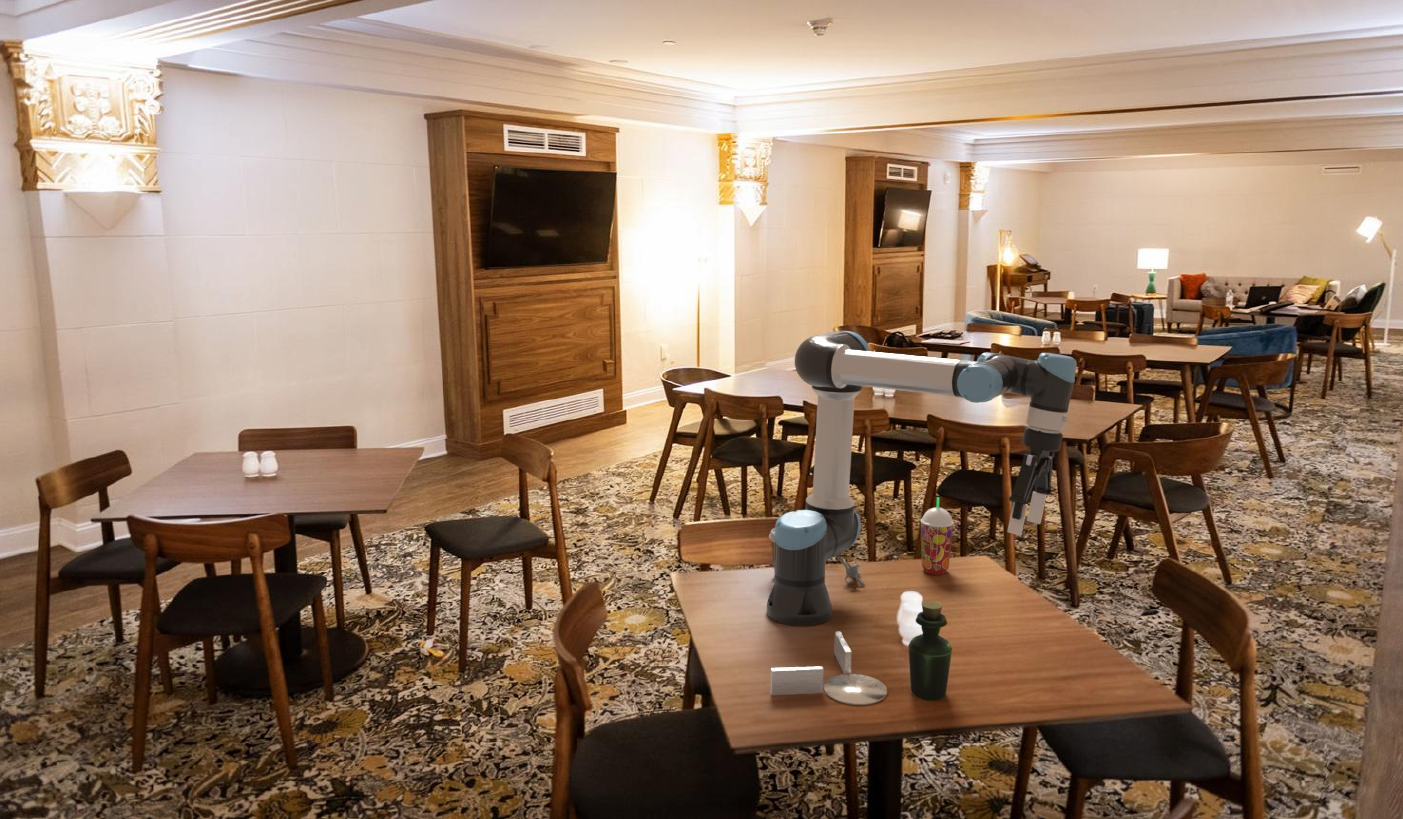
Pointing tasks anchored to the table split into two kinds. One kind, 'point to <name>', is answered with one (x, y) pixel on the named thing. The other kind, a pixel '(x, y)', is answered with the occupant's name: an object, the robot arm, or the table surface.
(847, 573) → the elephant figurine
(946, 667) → the potion bottle
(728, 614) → the table surface
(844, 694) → the shiny disc with plates
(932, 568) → the smoothie
